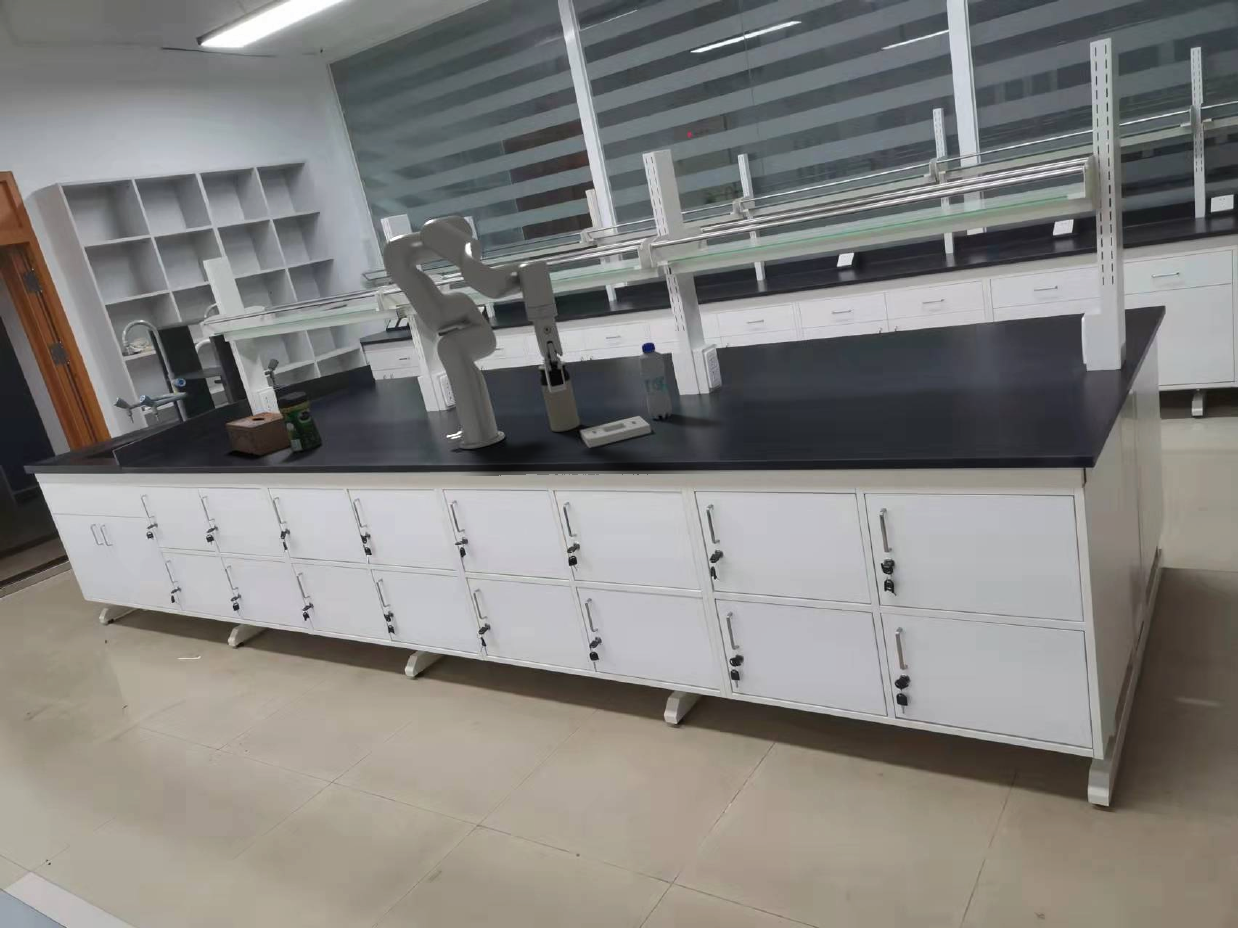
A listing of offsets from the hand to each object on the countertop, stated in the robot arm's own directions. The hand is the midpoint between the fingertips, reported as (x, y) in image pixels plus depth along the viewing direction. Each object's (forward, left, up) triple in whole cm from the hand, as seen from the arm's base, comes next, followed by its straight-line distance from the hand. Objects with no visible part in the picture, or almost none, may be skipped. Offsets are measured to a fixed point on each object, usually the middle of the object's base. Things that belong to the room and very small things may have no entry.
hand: (556, 382), depth 223 cm
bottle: (+25, +2, -16) cm, 30 cm away
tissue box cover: (-95, +98, -16) cm, 137 cm away
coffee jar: (-78, +76, -16) cm, 110 cm away
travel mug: (+1, +16, -16) cm, 22 cm away
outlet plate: (+11, -5, -16) cm, 20 cm away
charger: (0, 0, -2) cm, 2 cm away
